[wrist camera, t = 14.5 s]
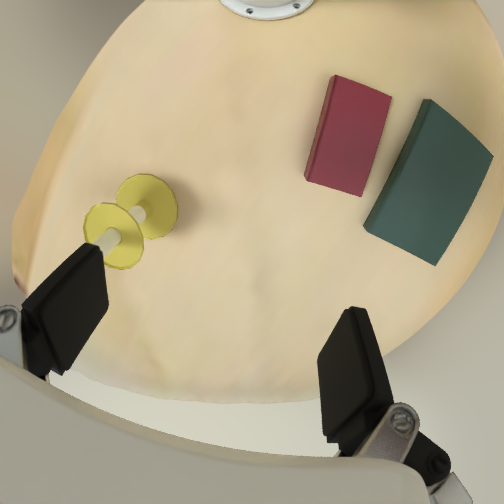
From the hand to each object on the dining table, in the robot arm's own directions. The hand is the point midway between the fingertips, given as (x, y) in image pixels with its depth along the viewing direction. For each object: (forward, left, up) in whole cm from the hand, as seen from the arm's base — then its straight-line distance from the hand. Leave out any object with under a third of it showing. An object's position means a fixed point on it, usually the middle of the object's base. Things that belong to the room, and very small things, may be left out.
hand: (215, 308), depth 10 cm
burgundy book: (-8, +8, -26) cm, 29 cm away
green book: (-8, +23, -26) cm, 36 cm away
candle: (+11, -13, -26) cm, 32 cm away
